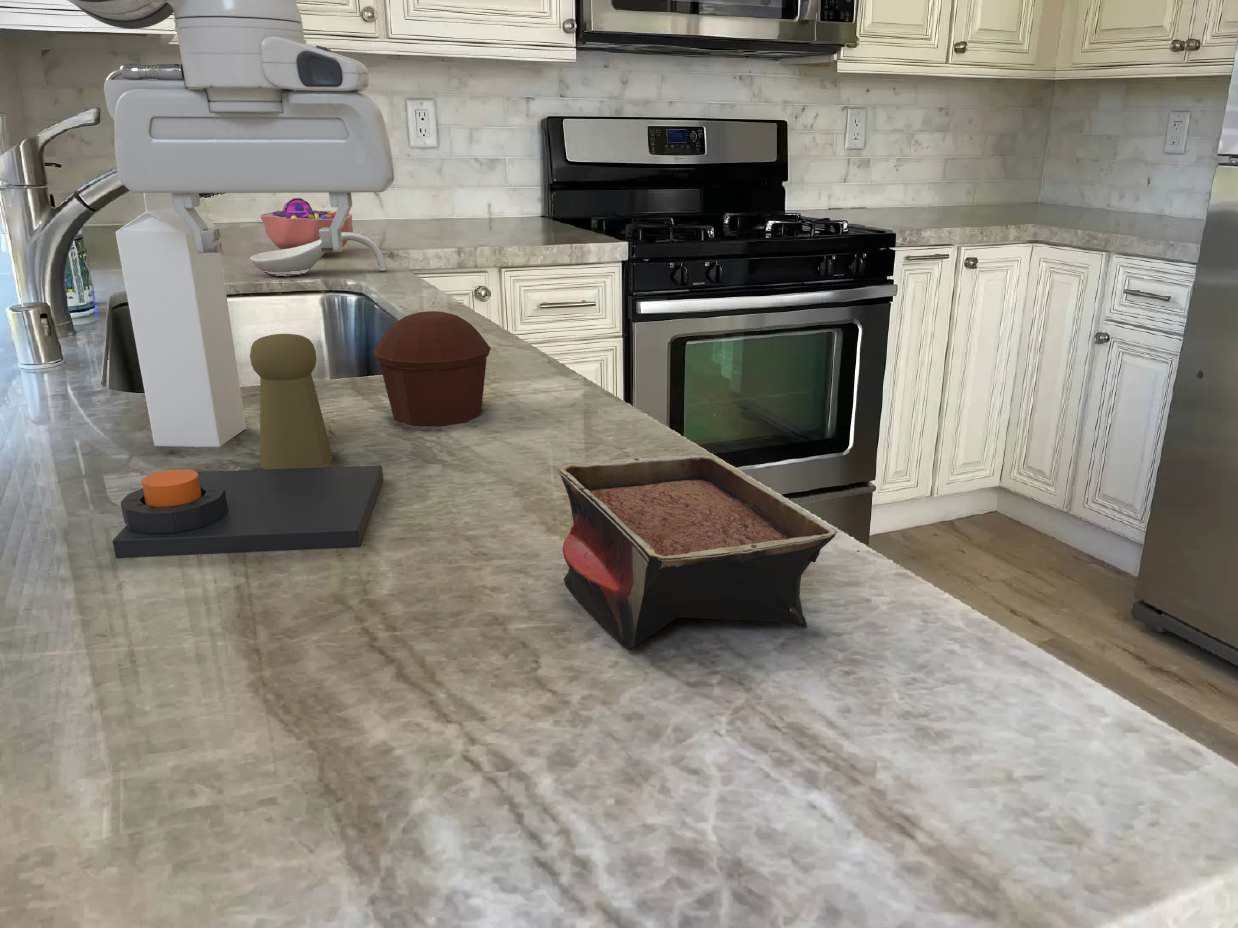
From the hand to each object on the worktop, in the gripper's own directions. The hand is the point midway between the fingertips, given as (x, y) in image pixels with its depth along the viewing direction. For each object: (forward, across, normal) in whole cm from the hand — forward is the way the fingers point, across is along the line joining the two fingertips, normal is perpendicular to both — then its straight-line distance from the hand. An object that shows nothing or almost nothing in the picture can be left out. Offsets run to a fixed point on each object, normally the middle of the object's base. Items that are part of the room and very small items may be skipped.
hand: (271, 251), depth 82 cm
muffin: (+18, +11, +14) cm, 25 cm away
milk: (+18, -10, +8) cm, 22 cm away
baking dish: (+18, +29, -31) cm, 46 cm away
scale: (+18, 0, -13) cm, 22 cm away
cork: (+18, 0, 0) cm, 18 cm away
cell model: (+18, -23, +138) cm, 141 cm away
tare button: (+15, -5, -16) cm, 23 cm away
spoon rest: (+18, -17, +112) cm, 115 cm away
